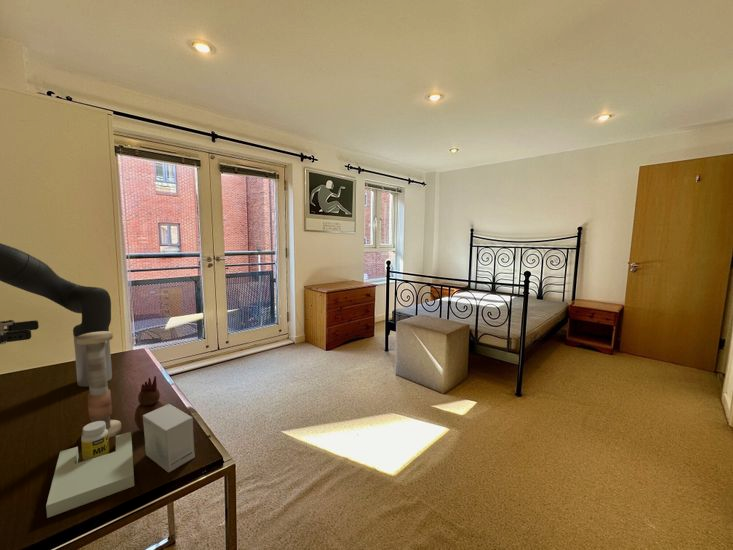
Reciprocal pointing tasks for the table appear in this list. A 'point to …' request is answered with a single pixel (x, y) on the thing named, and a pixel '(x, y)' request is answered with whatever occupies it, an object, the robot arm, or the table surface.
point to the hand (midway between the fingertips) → (34, 329)
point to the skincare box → (169, 437)
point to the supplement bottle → (95, 440)
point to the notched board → (90, 476)
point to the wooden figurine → (147, 402)
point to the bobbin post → (98, 380)
